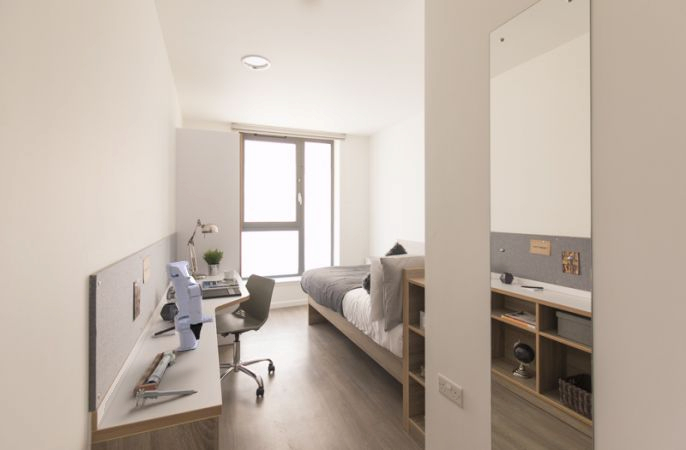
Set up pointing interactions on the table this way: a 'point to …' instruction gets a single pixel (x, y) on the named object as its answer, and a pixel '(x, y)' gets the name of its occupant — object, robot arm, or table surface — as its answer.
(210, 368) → the table surface
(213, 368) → the table surface
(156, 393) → the caliper
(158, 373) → the white tube
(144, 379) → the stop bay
